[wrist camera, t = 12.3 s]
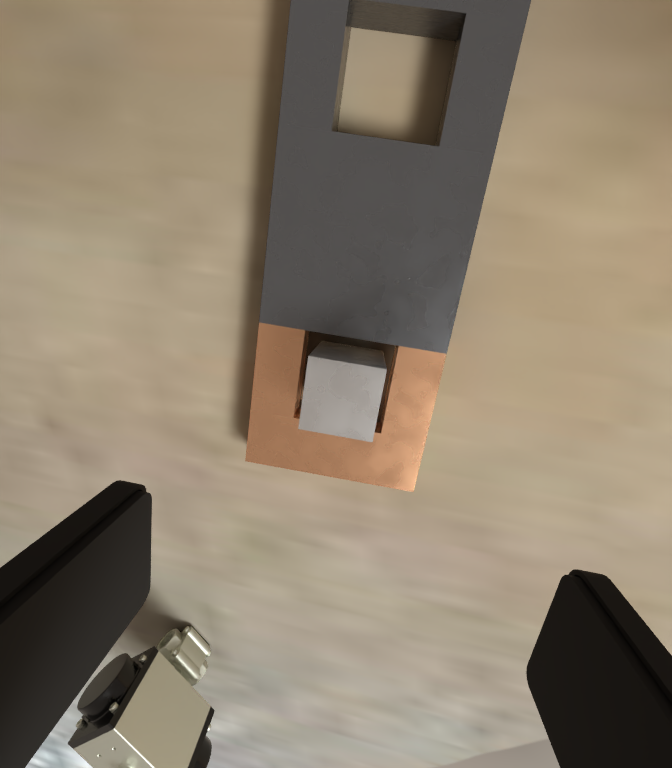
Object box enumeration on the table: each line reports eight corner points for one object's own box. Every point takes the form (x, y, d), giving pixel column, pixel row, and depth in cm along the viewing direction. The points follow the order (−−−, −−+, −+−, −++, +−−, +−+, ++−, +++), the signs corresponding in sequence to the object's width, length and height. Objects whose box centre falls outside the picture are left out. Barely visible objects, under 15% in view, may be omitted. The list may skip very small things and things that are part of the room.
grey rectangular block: (382, 350, 30) (386, 369, 23) (371, 408, 31) (372, 442, 24) (321, 340, 30) (308, 355, 23) (313, 398, 31) (298, 428, 24)
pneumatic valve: (171, 593, 38) (84, 728, 26) (240, 670, 40) (188, 828, 28) (133, 614, 39) (34, 753, 27) (202, 688, 41) (137, 847, 29)
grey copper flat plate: (530, -39, 23) (549, -78, 20) (410, 476, 32) (413, 491, 30) (308, -66, 23) (301, -107, 21) (254, 448, 33) (245, 460, 30)
